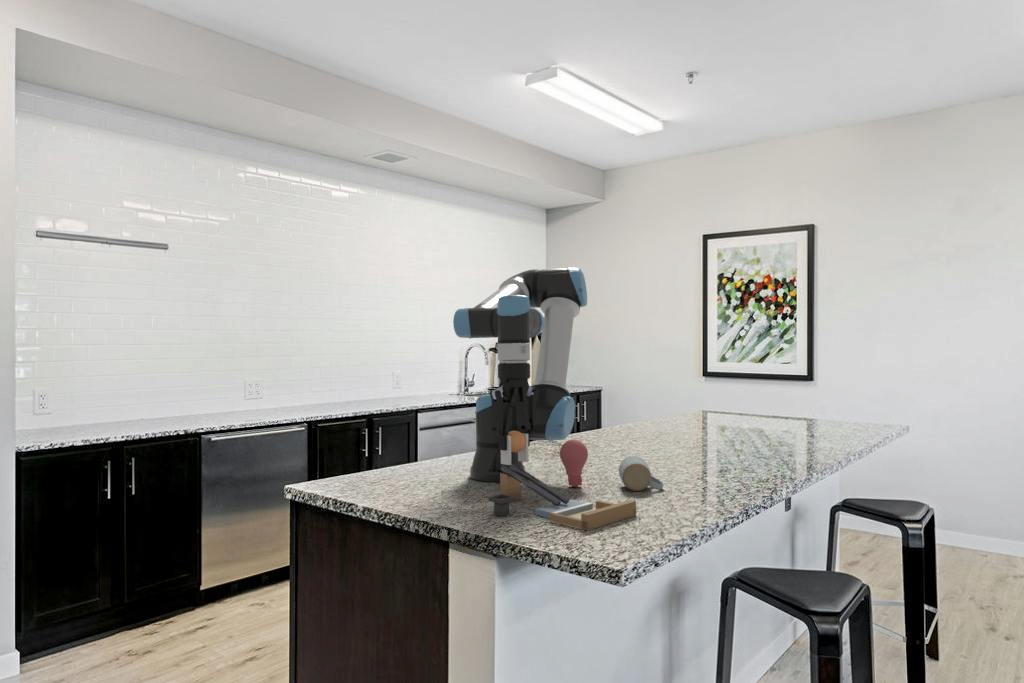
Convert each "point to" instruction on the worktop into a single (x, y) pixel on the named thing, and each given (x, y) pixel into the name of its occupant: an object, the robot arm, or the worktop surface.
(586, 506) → the block
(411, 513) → the worktop surface
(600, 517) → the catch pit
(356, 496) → the worktop surface
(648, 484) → the ceramic mug
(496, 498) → the tee
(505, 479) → the ramp
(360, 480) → the worktop surface
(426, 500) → the worktop surface
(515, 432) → the ball
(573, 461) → the light bulb
